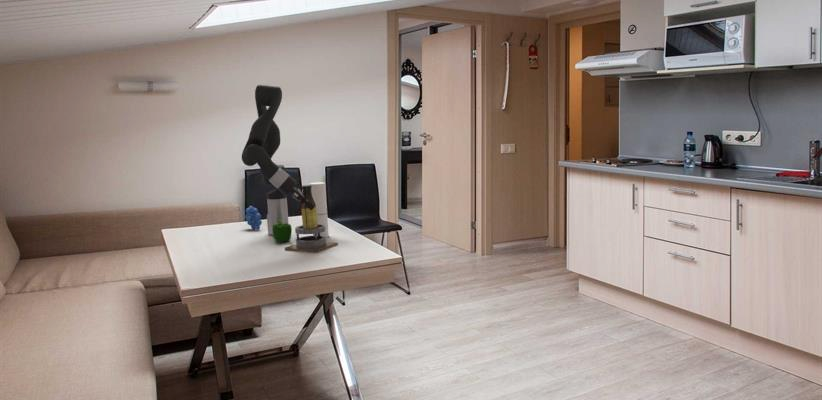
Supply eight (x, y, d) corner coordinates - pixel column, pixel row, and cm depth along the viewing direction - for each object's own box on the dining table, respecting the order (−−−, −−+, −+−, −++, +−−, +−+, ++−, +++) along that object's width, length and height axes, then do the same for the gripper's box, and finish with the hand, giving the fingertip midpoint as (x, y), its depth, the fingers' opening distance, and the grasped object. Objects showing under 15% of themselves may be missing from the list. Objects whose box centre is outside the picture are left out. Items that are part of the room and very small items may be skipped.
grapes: (240, 229, 322) (238, 206, 320) (251, 227, 327) (249, 204, 326) (254, 231, 315) (252, 208, 313) (265, 229, 320) (263, 206, 318)
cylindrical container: (330, 234, 298) (326, 182, 295) (326, 237, 291) (323, 183, 288) (315, 235, 299) (311, 182, 296) (311, 238, 292) (307, 184, 289)
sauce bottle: (320, 230, 273) (317, 184, 270) (313, 233, 267) (311, 186, 264) (306, 230, 275) (304, 184, 272) (299, 232, 269) (297, 186, 266)
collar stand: (284, 250, 269) (283, 229, 268) (308, 242, 283) (307, 222, 281) (315, 252, 261) (313, 231, 260) (337, 244, 275) (336, 224, 274)
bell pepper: (294, 241, 286) (293, 219, 284) (277, 244, 282) (275, 222, 280) (288, 239, 293) (286, 217, 291) (271, 241, 289) (269, 219, 287)
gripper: (288, 176, 259) (319, 203, 263) (289, 173, 273) (318, 198, 277) (276, 189, 259) (307, 216, 263) (277, 186, 273) (306, 211, 277)
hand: (312, 207), depth 270 cm, fingers closed on sauce bottle, 6 cm apart
